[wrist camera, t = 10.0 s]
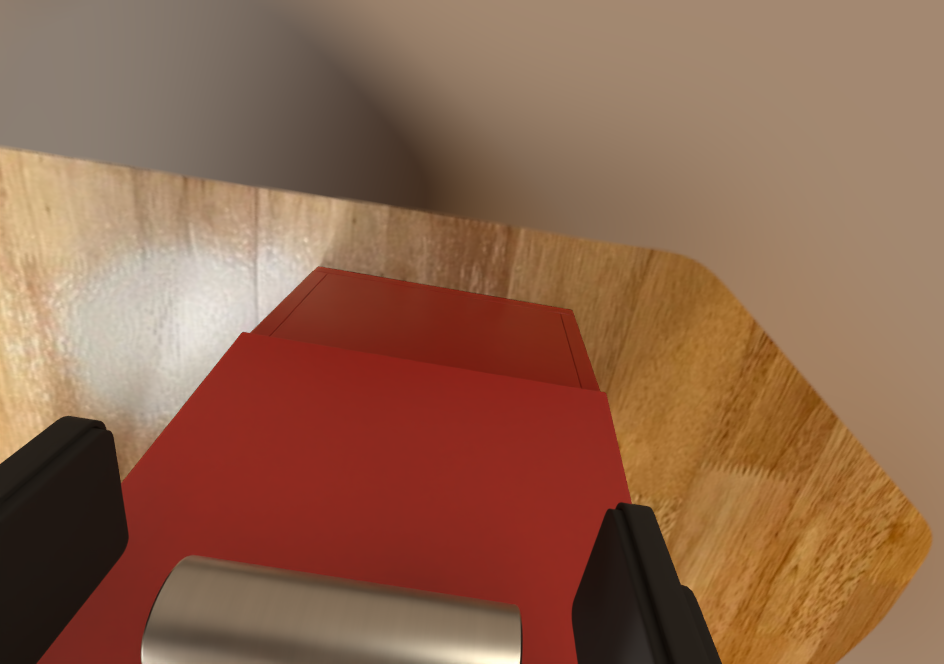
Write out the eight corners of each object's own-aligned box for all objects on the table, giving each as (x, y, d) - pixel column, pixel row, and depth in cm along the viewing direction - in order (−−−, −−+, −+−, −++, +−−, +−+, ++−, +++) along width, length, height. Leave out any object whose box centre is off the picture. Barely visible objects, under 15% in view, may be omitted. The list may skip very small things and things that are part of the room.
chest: (523, 493, 39) (531, 615, 30) (309, 458, 38) (251, 572, 29) (572, 309, 32) (601, 393, 23) (317, 265, 32) (247, 334, 23)
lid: (714, 940, 10) (884, 858, 7) (-123, 825, 10) (-329, 686, 7) (600, 406, 23) (643, 296, 20) (243, 346, 23) (231, 225, 20)
